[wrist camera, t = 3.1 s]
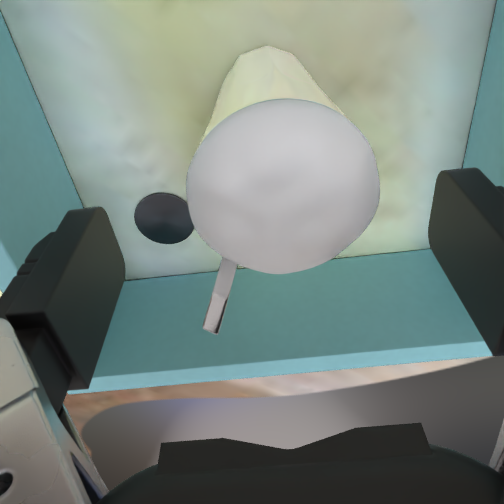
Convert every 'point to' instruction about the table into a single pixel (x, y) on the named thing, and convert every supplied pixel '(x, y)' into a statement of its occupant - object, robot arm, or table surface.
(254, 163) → the milkshake
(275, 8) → the table surface
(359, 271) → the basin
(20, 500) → the robot arm
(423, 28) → the table surface
